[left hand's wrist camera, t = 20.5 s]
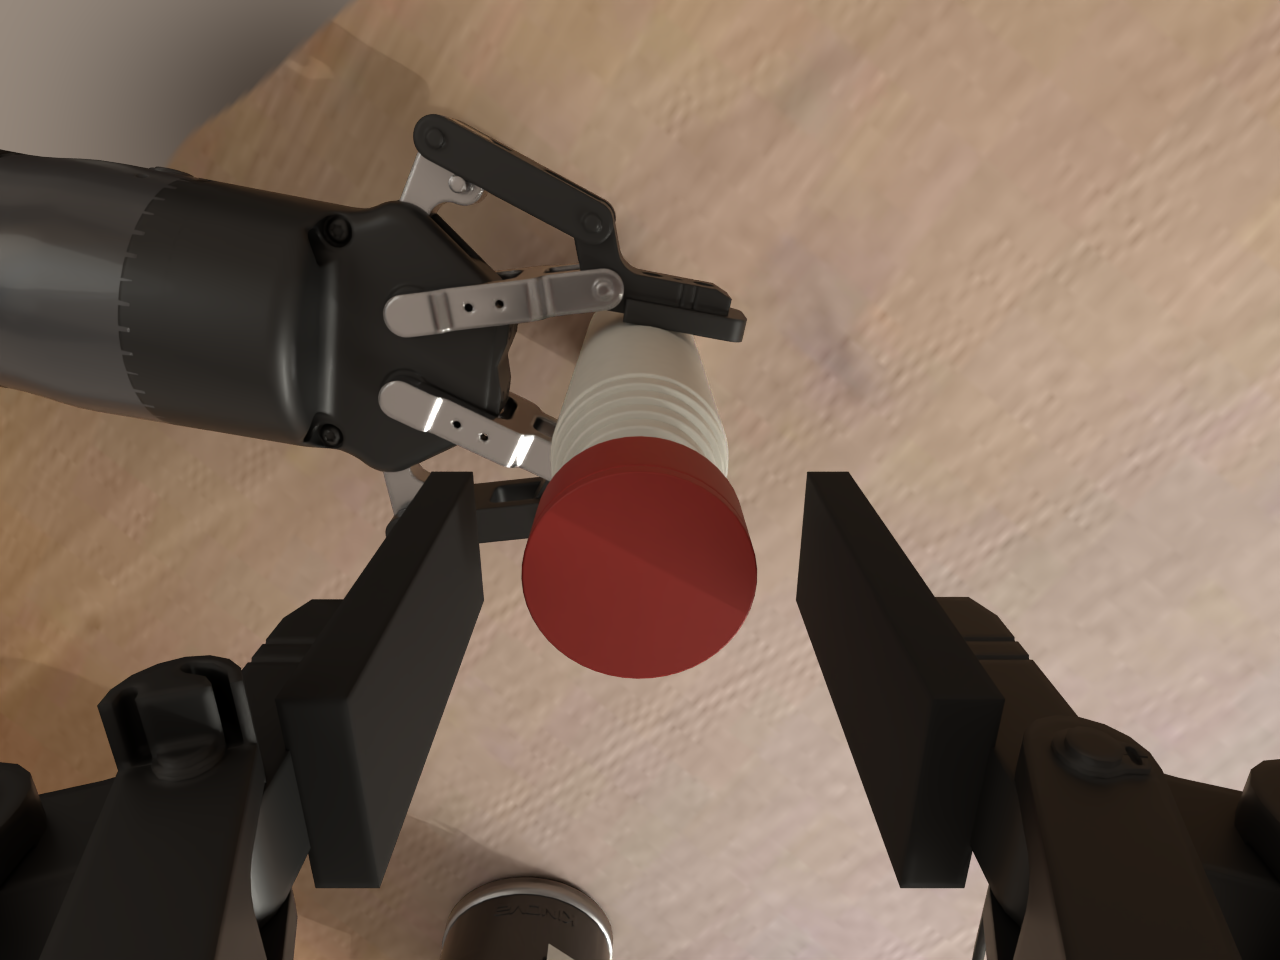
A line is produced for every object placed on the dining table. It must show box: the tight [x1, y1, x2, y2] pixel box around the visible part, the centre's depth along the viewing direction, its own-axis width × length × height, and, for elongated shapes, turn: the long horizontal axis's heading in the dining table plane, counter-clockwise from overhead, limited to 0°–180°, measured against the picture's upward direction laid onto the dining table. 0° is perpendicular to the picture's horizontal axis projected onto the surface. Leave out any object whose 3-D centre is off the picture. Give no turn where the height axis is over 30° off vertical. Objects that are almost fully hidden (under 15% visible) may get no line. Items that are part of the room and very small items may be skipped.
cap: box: [522, 436, 757, 679], centre depth 14 cm, size 4×4×2 cm
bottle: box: [550, 310, 728, 478], centre depth 22 cm, size 4×4×19 cm
